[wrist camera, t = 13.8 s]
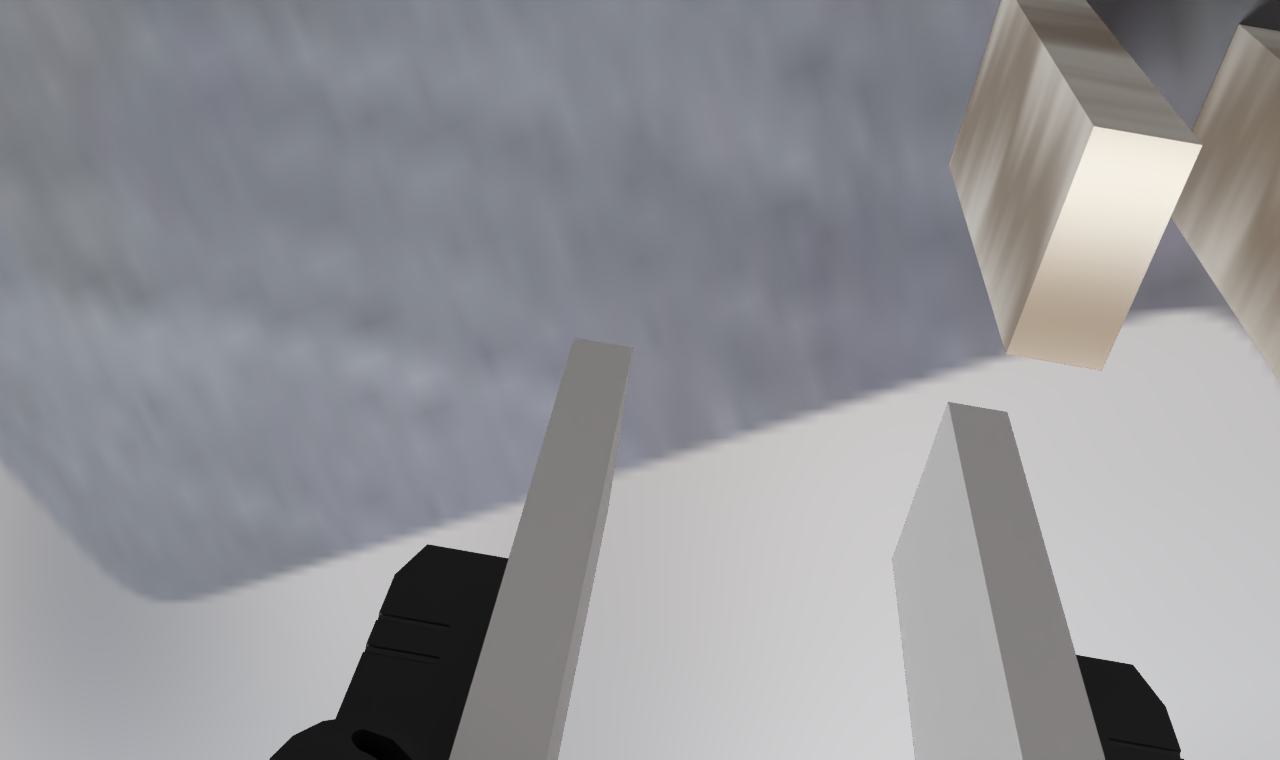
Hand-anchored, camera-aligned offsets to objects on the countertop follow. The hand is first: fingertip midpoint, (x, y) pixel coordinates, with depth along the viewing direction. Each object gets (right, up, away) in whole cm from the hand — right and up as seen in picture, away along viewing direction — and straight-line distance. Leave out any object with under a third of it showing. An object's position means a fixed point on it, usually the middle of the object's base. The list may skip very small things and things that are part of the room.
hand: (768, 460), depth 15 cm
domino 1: (+8, +9, +15) cm, 20 cm away
